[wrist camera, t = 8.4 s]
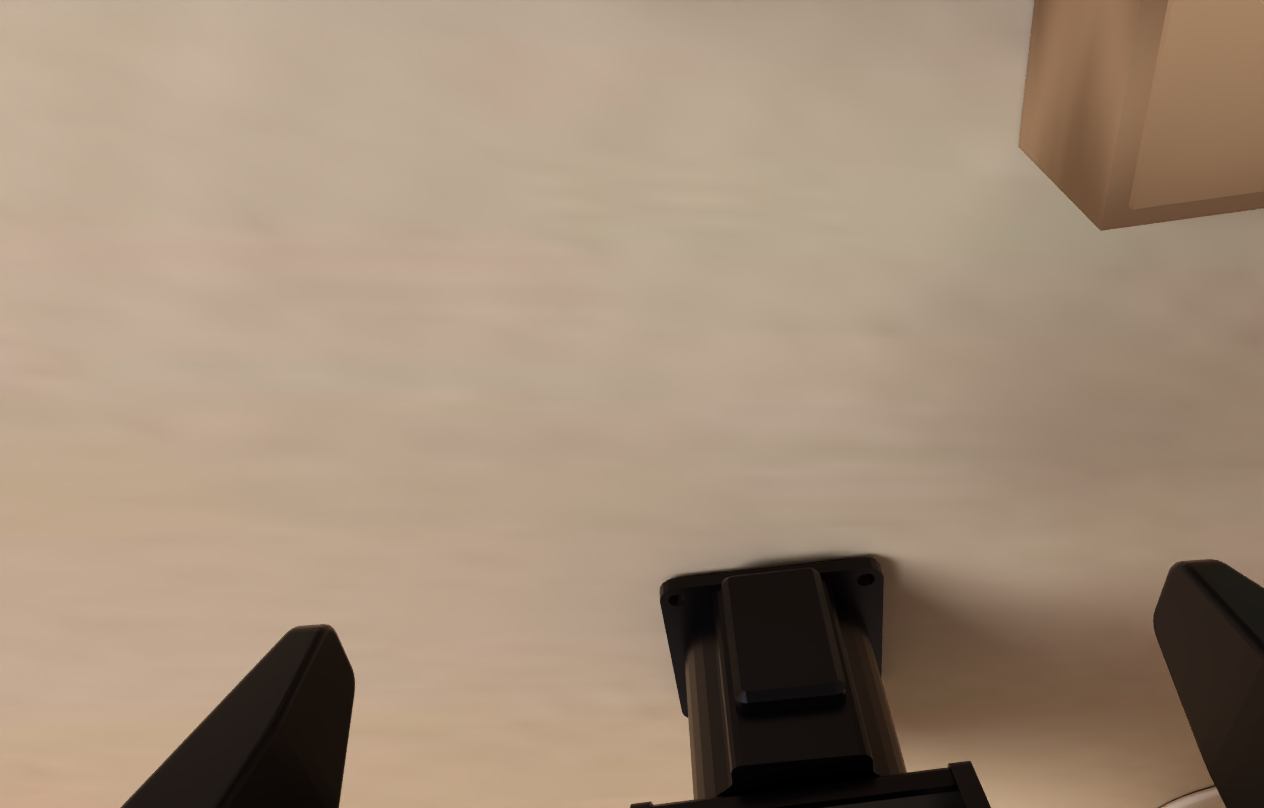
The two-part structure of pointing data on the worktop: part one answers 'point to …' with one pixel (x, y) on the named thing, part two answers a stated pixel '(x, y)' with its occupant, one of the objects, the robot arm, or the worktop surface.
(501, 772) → the worktop surface
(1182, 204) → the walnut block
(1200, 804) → the lidded bowl
